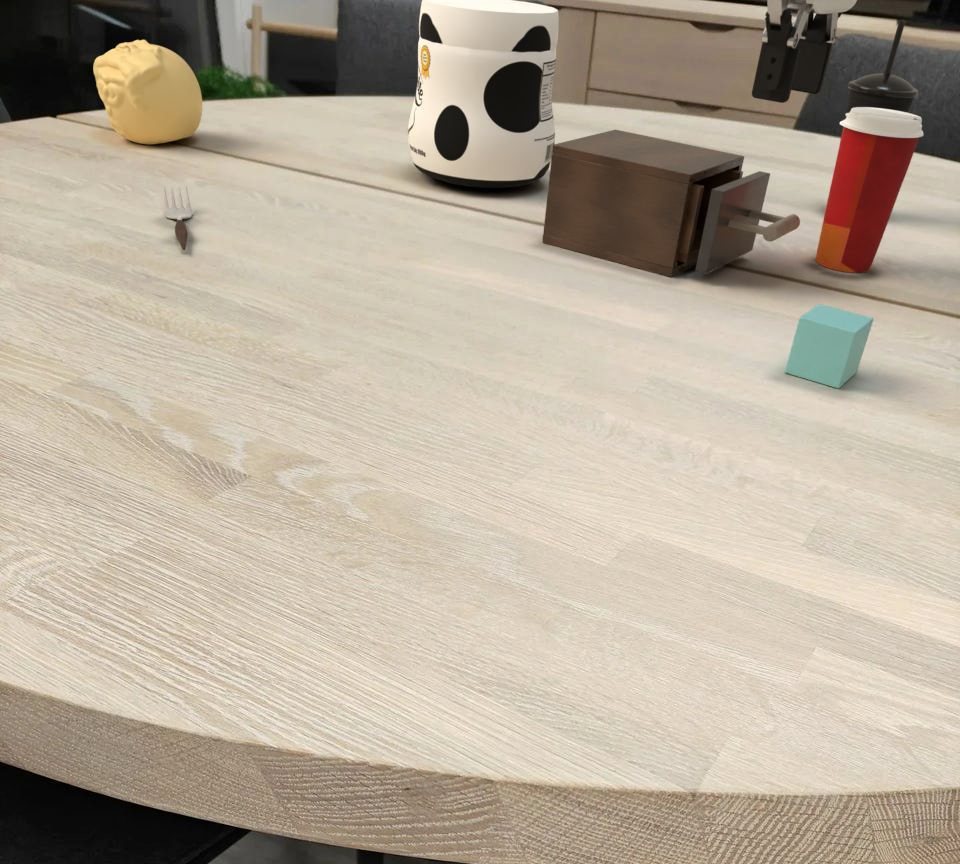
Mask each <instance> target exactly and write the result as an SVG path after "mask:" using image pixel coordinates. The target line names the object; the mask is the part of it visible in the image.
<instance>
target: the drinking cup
mask: <svg viewBox="0 0 960 864" xmlns="http://www.w3.org/2000/svg"><path fill="white" fill-rule="evenodd" d="M905 25H906V20H903V19H900V20H898V23H897V27H896V31H895V33H894V37H893V40H892V44H891V48H890V51H889V55H888V59H887V63H886V66H885V70H884V73H880V72H879V73H871V74H868V75H867V74H866V75H864V76H861V77H859V78H858V79H855V80H850V81H849V82H848V85H847V87H848V89H849V92H848V96H847V97H848V98H847V102H846V103H847V104H846V107H845V113H844V114H845V115H844V119H843V120H845V119H846V117H847V116H846V113H850V111H851V109H852V108H855V107H872V108H883V109H890V110H896V111H902V112H906V113H910V109H911V107H912V104H913V101H914V99H915V98H917V97H918V95H919V89H917V88H915V87H913V86H912V84H911V83H910V82H908V81H907V80H905V79H904V78H902V77H900V76H897V75H894V74H892V71H893V66H894V63H895V59H896V56H897V53H898V50H899V45H900V42H901V39H902V36H903V32H904V28H905ZM843 127H844V126H842V130H841V133H842V132H843ZM841 136H842V134H841ZM841 136H840V137H841ZM840 141H841V139H840V140H839V142H840Z"/></svg>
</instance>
